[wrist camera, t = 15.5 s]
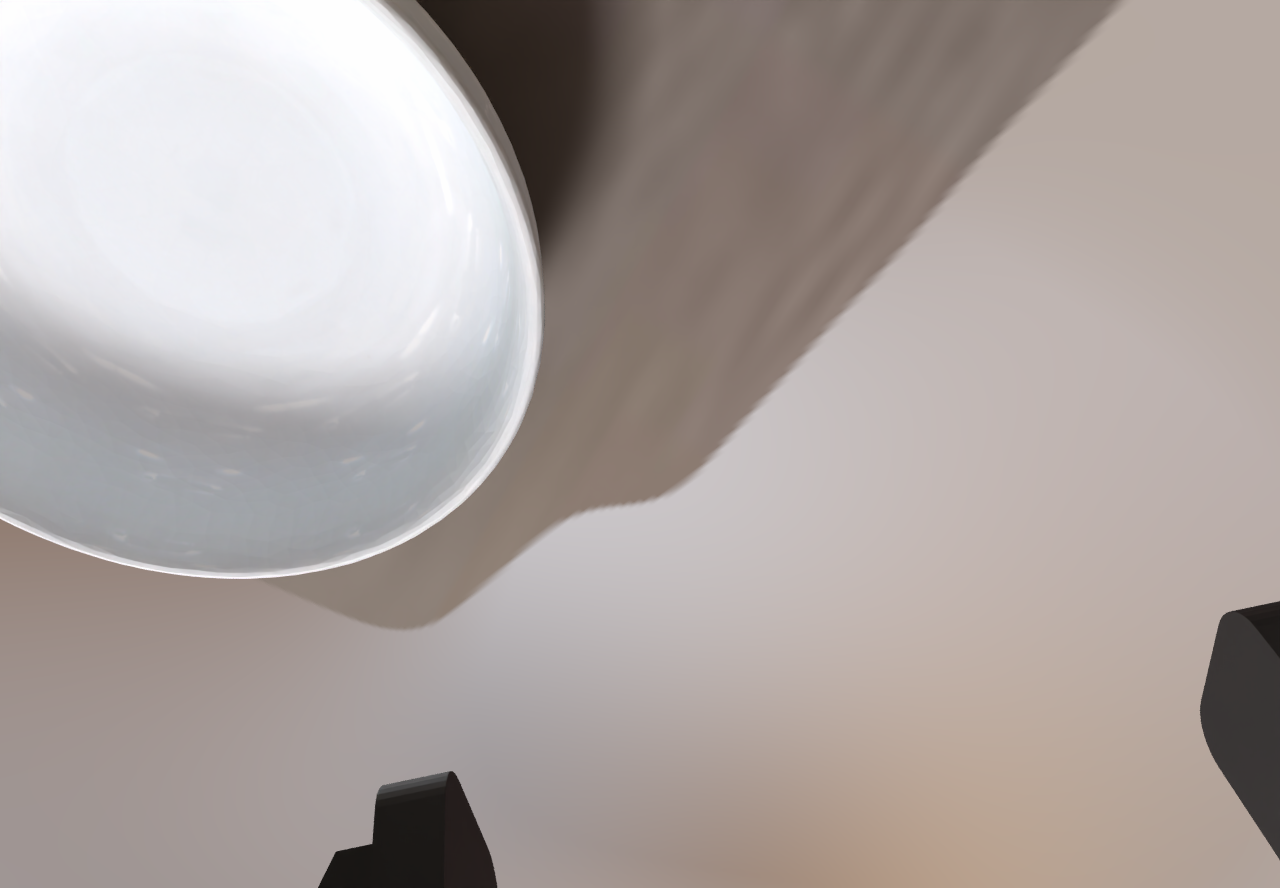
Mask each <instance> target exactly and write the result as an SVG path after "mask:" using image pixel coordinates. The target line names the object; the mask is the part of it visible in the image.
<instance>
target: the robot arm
mask: <svg viewBox="0 0 1280 888" xmlns="http://www.w3.org/2000/svg"><path fill="white" fill-rule="evenodd" d="M1200 716H1201V724H1202V729H1203V732H1204V736H1205V739H1206V742H1207V745H1208V747H1209V749H1210V752H1211V754H1212V756H1213V758H1214V760H1215V762H1216V763H1217V765H1218V767H1219V768H1220V770H1221V771H1222V772H1223V774H1224V775H1225V777H1226V779H1227V780H1228V782H1229V783H1230V785H1231V786H1232V788H1233V789H1234V791H1235V792H1236V794H1237V795H1238V797H1239V799H1240V800H1241V801H1242V803H1243V805H1244V806H1245V808H1246V809H1247V811H1248V812H1249V814H1250V815H1251V817H1252V818H1253V820H1254V821H1255V823H1256V824H1257V826H1258V827H1259V829H1260V830H1261V832H1262V833H1263V835H1264V837H1265V838H1266V840H1267V841H1268V843H1269V844H1270V846H1271V847H1272V849H1273V850H1274V852H1275V853H1276V855H1277V856H1278V858H1279V859H1280V601H1279V602H1274V603H1269V604H1264V605H1259V606H1255V607H1250V608H1245V609H1241V610H1236V611H1231V612H1228V613H1226V614H1225V615H1223V616H1222V618H1221V620H1220V623H1219V626H1218V630H1217V634H1216V639H1215V643H1214V647H1213V652H1212V656H1211V660H1210V665H1209V669H1208V674H1207V678H1206V683H1205V686H1204V691H1203V695H1202V699H1201V705H1200ZM318 888H497V882H496V876H495V871H494V867H493V863H492V858H491V855H490V852H489V850H488V847H487V845H486V842H485V840H484V838H483V835H482V833H481V831H480V828H479V826H478V824H477V821H476V819H475V817H474V815H473V812H472V810H471V807H470V805H469V803H468V800H467V798H466V796H465V793H464V791H463V789H462V787H461V784H460V782H459V780H458V778H457V776H456V774H455V773H454V772H453V771H450V772H445V773H440V774H435V775H430V776H426V777H421V778H416V779H411V780H407V781H401V782H397V783H392V784H387V785H383V786H381V787H380V789H379V791H378V794H377V798H376V804H375V816H374V829H373V843H372V844H370V845H365V846H360V847H356V848H351V849H347V850H341V851H337V852H336V853H335V855H334V857H333V859H332V861H331V863H330V865H329V867H328V869H327V871H326V873H325V875H324V877H323V879H322V881H321V883H320V885H319V887H318Z"/></svg>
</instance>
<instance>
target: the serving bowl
mask: <svg viewBox="0 0 1280 888" xmlns="http://www.w3.org/2000/svg"><path fill="white" fill-rule="evenodd" d="M544 327H545V299H544V280H543V269H542V258H541V251H540V244H539V237H538V230H537V225H536V221H535V216H534V212H533V207H532V203H531V200H530V196H529V193H528V189H527V186H526V182H525V179H524V176H523V173H522V171H521V168H520V165H519V163H518V160H517V158H516V155H515V152H514V150H513V147H512V144H511V142H510V140H509V138H508V136H507V134H506V132H505V130H504V128H503V125H502V123H501V121H500V119H499V117H498V115H497V113H496V112H495V110H494V108H493V106H492V104H491V102H490V100H489V98H488V97H487V95H486V93H485V91H484V90H483V88H482V86H481V85H480V83H479V81H478V80H477V78H476V77H475V75H474V73H473V72H472V71H471V69H470V68H469V66H468V65H467V63H466V62H465V60H464V59H463V58H462V56H461V55H460V53H459V52H458V50H457V49H456V48H455V46H454V45H453V44H452V42H451V41H450V40H449V39H448V37H447V36H446V35H445V34H444V32H443V31H442V30H441V29H440V27H439V26H438V25H437V24H436V23H435V21H434V20H433V19H432V18H431V17H430V15H429V14H428V13H427V12H426V11H425V10H424V9H423V8H422V7H421V6H420V4H419V3H418V2H417V1H416V0H0V519H2V520H4V521H6V522H8V523H10V524H12V525H14V526H16V527H19V528H21V529H23V530H25V531H27V532H30V533H32V534H34V535H36V536H39V537H41V538H44V539H47V540H49V541H51V542H54V543H57V544H59V545H62V546H65V547H67V548H70V549H73V550H76V551H79V552H82V553H85V554H88V555H91V556H94V557H98V558H101V559H105V560H108V561H112V562H115V563H119V564H123V565H128V566H132V567H137V568H141V569H146V570H152V571H158V572H164V573H170V574H177V575H186V576H195V577H207V578H228V579H229V578H230V579H231V578H233V579H234V578H235V579H249V578H268V577H281V576H290V575H298V574H304V573H310V572H315V571H321V570H326V569H330V568H335V567H339V566H343V565H347V564H351V563H354V562H357V561H360V560H363V559H366V558H368V557H371V556H374V555H376V554H379V553H381V552H384V551H386V550H389V549H391V548H393V547H395V546H398V545H400V544H402V543H404V542H406V541H408V540H410V539H411V538H413V537H415V536H417V535H419V534H420V533H422V532H423V531H425V530H426V529H428V528H429V527H431V526H433V525H434V524H436V523H437V522H439V521H440V520H442V519H443V518H444V517H445V516H447V515H448V514H449V513H451V512H452V511H453V510H454V509H456V508H457V507H458V506H460V505H461V504H462V503H463V502H464V501H465V500H466V499H467V498H468V497H469V496H470V495H471V494H472V493H473V492H474V491H475V490H476V489H477V488H478V487H479V486H480V485H481V484H482V483H483V481H484V480H485V479H486V478H487V477H488V475H489V474H490V473H491V472H492V470H493V469H494V468H495V467H496V465H497V464H498V462H499V461H500V459H501V458H502V456H503V455H504V453H505V452H506V450H507V449H508V447H509V445H510V444H511V442H512V440H513V438H514V437H515V435H516V433H517V431H518V429H519V427H520V425H521V423H522V421H523V418H524V416H525V413H526V410H527V408H528V405H529V403H530V400H531V397H532V395H533V391H534V387H535V383H536V378H537V374H538V370H539V366H540V362H541V354H542V346H543V337H544Z"/></svg>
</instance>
